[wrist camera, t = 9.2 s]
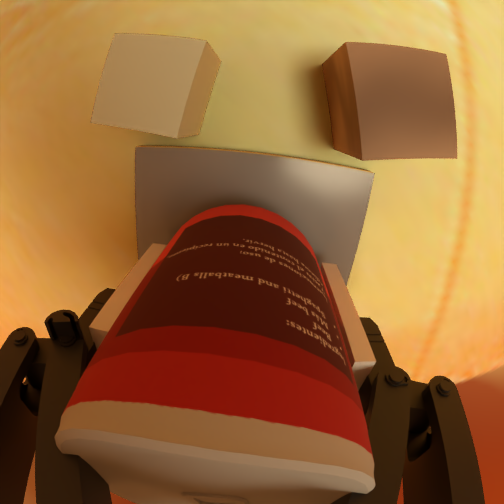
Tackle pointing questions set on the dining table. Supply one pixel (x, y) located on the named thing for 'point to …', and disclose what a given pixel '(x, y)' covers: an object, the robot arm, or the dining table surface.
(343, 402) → the canned food
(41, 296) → the dining table surface
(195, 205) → the slate coaster
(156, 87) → the beige block
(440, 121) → the walnut block
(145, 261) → the robot arm
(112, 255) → the dining table surface
